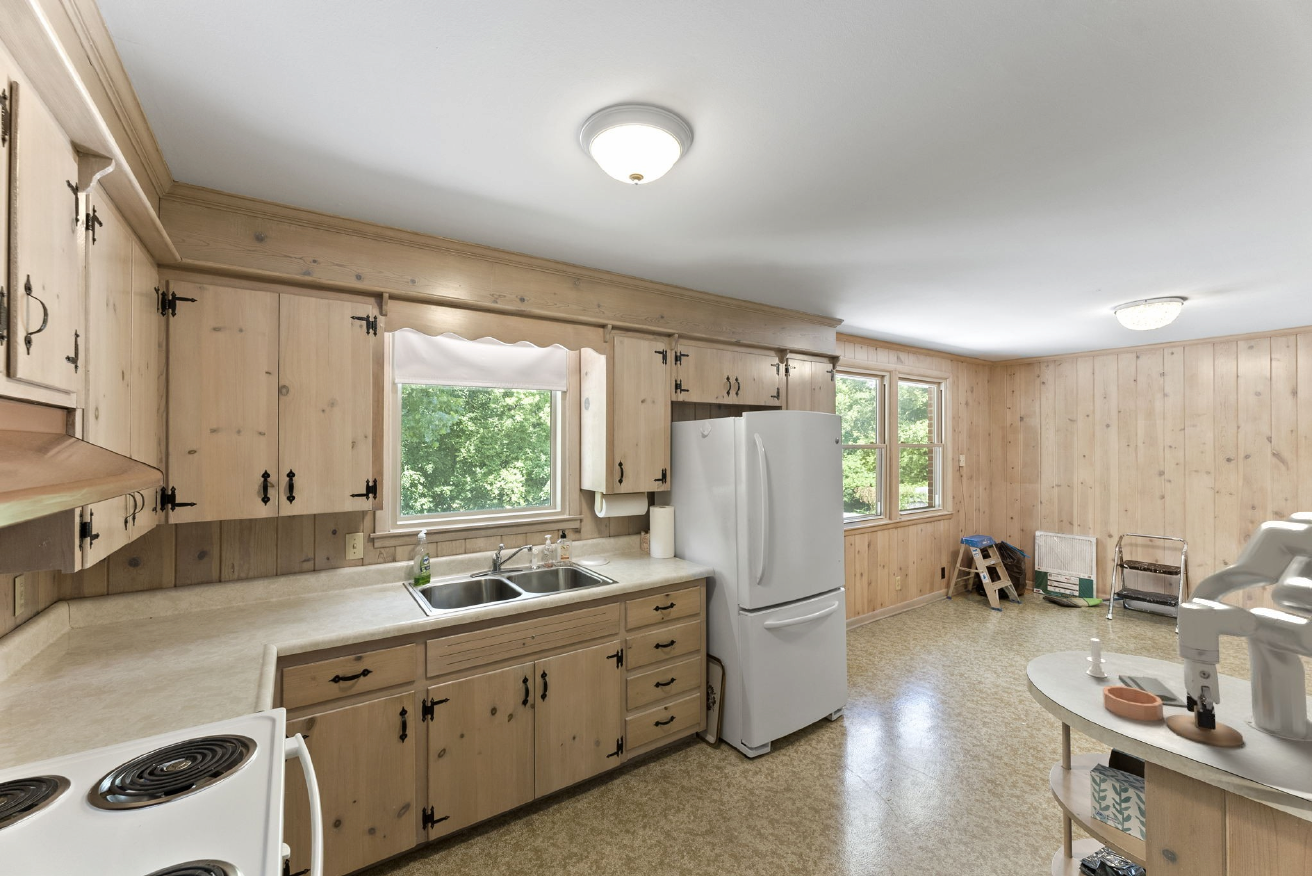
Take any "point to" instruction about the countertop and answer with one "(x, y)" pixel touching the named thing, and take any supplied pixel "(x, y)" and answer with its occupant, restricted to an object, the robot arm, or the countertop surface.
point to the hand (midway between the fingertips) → (1200, 719)
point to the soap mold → (1152, 689)
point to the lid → (1204, 731)
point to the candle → (1096, 659)
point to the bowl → (1133, 703)
